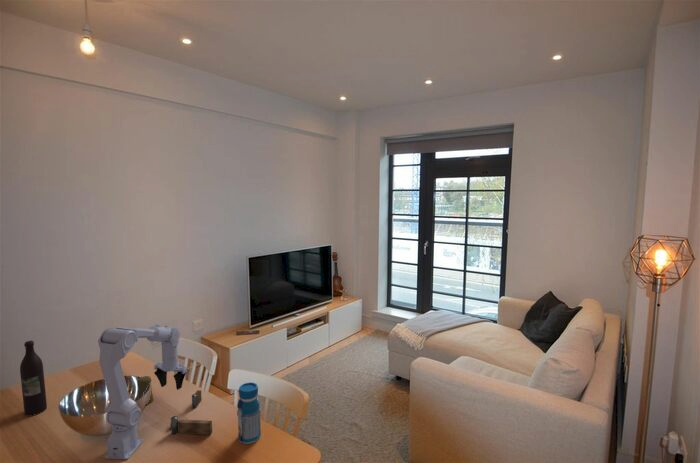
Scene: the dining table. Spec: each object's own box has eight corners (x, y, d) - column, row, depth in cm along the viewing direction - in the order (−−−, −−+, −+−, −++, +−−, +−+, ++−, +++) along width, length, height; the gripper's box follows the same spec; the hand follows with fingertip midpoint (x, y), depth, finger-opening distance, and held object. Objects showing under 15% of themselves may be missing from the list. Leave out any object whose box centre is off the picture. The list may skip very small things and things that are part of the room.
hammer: (176, 434, 137) (175, 420, 137) (165, 434, 138) (164, 419, 137) (202, 400, 159) (201, 387, 159) (193, 400, 160) (192, 387, 159)
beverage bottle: (251, 447, 131) (249, 395, 129) (233, 440, 135) (231, 389, 132) (265, 433, 139) (264, 384, 136) (248, 427, 142) (247, 378, 140)
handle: (177, 433, 138) (176, 422, 137) (179, 430, 139) (178, 419, 139) (210, 434, 137) (210, 423, 137) (212, 431, 139) (211, 420, 138)
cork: (156, 398, 161) (155, 374, 160) (147, 406, 155) (146, 381, 154) (143, 397, 162) (142, 373, 160) (134, 405, 156) (132, 380, 154)
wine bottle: (20, 414, 148) (12, 344, 145) (38, 404, 155) (31, 337, 152) (33, 417, 147) (26, 346, 143) (51, 407, 154) (44, 339, 150)
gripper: (191, 353, 152) (192, 384, 154) (162, 349, 156) (164, 379, 157) (179, 361, 145) (181, 393, 147) (149, 356, 149) (151, 388, 151)
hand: (171, 387), depth 152 cm, fingers open, 7 cm apart
